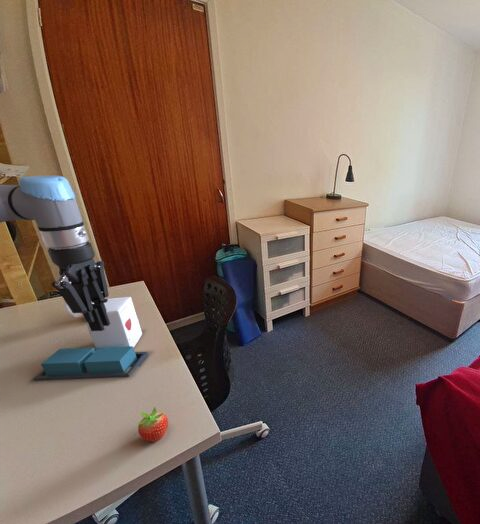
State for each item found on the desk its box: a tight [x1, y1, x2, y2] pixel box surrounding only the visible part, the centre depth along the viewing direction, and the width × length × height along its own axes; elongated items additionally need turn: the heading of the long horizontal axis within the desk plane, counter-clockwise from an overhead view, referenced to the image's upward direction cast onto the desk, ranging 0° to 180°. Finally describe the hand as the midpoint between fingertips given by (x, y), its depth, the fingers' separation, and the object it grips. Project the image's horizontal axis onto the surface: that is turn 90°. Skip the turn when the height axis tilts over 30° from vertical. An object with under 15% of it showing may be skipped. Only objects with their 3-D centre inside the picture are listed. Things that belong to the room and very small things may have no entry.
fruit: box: [136, 406, 169, 442], centre depth 61 cm, size 5×5×8 cm
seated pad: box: [40, 347, 96, 376], centre depth 78 cm, size 9×6×5 cm, turn 95°
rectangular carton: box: [82, 296, 143, 351], centre depth 87 cm, size 9×9×15 cm
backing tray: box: [32, 351, 149, 382], centre depth 80 cm, size 24×9×2 cm, turn 95°
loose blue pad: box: [84, 346, 137, 374], centre depth 79 cm, size 9×6×5 cm, turn 96°
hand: (101, 327), depth 75 cm, fingers closed
